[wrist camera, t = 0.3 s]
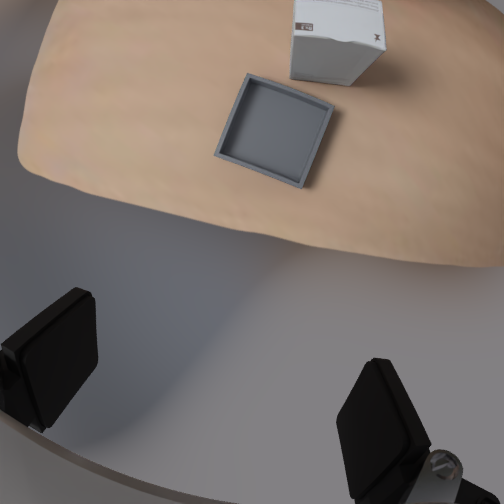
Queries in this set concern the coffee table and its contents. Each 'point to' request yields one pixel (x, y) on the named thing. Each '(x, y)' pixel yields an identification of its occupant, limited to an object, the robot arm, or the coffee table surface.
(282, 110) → the tray
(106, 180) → the coffee table surface
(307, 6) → the skincare box
